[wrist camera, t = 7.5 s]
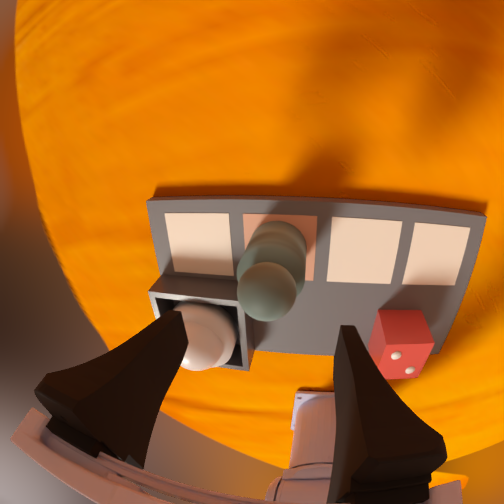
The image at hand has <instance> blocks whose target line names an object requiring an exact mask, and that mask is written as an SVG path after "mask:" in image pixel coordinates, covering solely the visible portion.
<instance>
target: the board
mask: <svg viewBox="0 0 504 504" xmlns="http://www.w3.org/2000/svg"><path fill="white" fill-rule="evenodd" d="M146 203H147V209H148V215H149V221H150V227H151V232H152V237H153V242H154V247H155V252H156V257H157V262H158V266H159V271H160V275H161V276H160V277H159V279H158V280H157V281H156V282H155V283H154V285H153V286H152V287H151V288H150V289H149V291H148V293H149V297H150V300H151V304H152V307H153V311H154V314H155V317H156V319H158V318H159V317H160V316H162V315H163V314H164V313H166V312H167V311H169V310H173V309H174V307H175V306H176V305H177V304H178V303H179V302H181V301H189V302H198V303H207V304H217V305H219V306H221V307H222V308H223V309H225V310H226V311H227V312H228V313H229V314H230V315H231V316H232V318H233V319H234V321H235V322H236V325H237V328H238V338H237V340H236V343H235V346H234V349H233V352H232V355H231V358H230V359H229V360H228V361H227V362H226V363H225V364H223V365H221V366H218V367H223V368H230V369H237V370H245V371H249V369H250V365H251V362H252V358H253V354H254V350H259V351H269V352H281V353H294V354H310V355H332V356H334V354H335V350H336V345H337V340H338V335H339V330H340V325H354V326H355V327H356V328H357V330H358V333H359V335H360V337H361V339H362V341H363V343H364V345H365V347H366V349H367V350H368V352H369V348H368V343H369V340H370V336H371V333H372V330H373V326H374V322H375V319H376V315H377V311H378V310H421V311H422V313H423V315H424V318H425V320H426V322H427V325H428V327H429V330H430V332H431V335H432V337H433V340H434V342H435V344H434V346H433V348H432V350H431V352H430V354H439V352H440V350H441V348H442V346H443V343H444V341H445V339H446V337H447V335H448V333H449V331H450V328H451V326H452V324H453V322H454V319H455V317H456V314H457V312H458V310H459V307H460V304H461V302H462V299H463V297H464V294H465V291H466V288H467V286H468V283H469V280H470V277H471V274H472V271H473V268H474V264H475V261H476V258H477V254H478V251H479V247H480V243H481V240H482V236H483V231H484V227H485V223H486V218H487V217H486V216H485V215H484V214H482V213H481V212H475V211H468V210H460V209H452V208H444V207H436V206H427V205H417V204H407V203H396V202H384V201H371V200H357V199H340V198H321V197H295V196H243V195H221V196H169V197H152V198H150V199H148V200H147V201H146ZM270 221H283V222H287V223H290V224H292V225H293V226H295V227H296V228H297V229H299V231H300V232H301V233H302V234H303V236H304V238H305V241H306V246H307V251H306V271H305V284H304V287H303V289H302V291H301V293H300V294H299V295H298V296H297V297H296V300H295V303H294V305H293V307H292V308H291V310H290V311H289V312H288V313H287V314H286V315H285V316H283V317H282V318H280V319H277V320H274V321H260V320H256V319H254V318H252V317H250V316H249V315H248V314H247V313H245V311H244V310H243V309H242V307H241V306H240V304H239V301H238V297H237V286H238V280H237V267H238V264H239V262H240V260H241V258H242V256H243V254H244V252H245V249H246V247H247V245H248V243H249V241H250V239H251V237H252V235H253V233H254V231H255V230H256V229H257V228H258V227H259V226H261V225H262V224H264V223H267V222H270Z"/></svg>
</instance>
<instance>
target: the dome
mask: <svg viewBox="0 0 504 504" xmlns="http://www.w3.org/2000/svg"><path fill="white" fill-rule="evenodd" d="M173 310H175V311H181V313H182V317H183V321H184V325H185V329H186V333H187V337H188V341H189V344H188V347H187V350H186V353H185V356H184V358H183V361H182V363H181V365H180V366H182V367H184V368H186V369H189V370H193V371H201V370H205V369H208V368H210V367H218V366H221V365H223V364H225V363H226V362H227V361H228V360H229V359H230V358H231V355H232V352H233V349H234V346H235V343H236V340H237V338H238V328H237V325H236V322H235V321H234V319H233V318H232V316H231V315H230V314H229V313H228V312H227V311H226V310H225V309H223V308H222V307H221V306H219V305H217V304H207V303H198V302H189V301H181V302H179V303H178V304H177V305H176V306H175V307H174V309H173Z"/></svg>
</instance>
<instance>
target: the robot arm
mask: <svg viewBox="0 0 504 504" xmlns="http://www.w3.org/2000/svg"><path fill="white" fill-rule="evenodd" d="M188 344H189V341H188V337H187V333H186V329H185V325H184V321H183V317H182V313H181V311H175V310H169V311H167V312H166V313H164V314H163V315H162V316H160V317H159V318H158V319H156V320H155V321H154V322H152V323H151V324H150V325H148V326H147V327H146V328H144V329H143V330H142V331H140V332H139V333H138V334H136V335H135V336H133V337H132V338H130V339H129V340H127V341H126V342H124V343H123V344H121V345H120V346H118V347H116V348H115V349H113V350H111V351H109V352H107V353H106V354H104V355H102V356H100V357H97V358H95V359H93V360H90V361H88V362H86V363H83V364H81V365H78V366H75V367H72V368H69V369H65V370H61V371H57V372H52V373H48V374H46V376H45V377H44V378H43V380H42V381H41V382H40V383H39V385H38V386H37V387H36V389H35V390H34V392H35V395H36V397H37V398H38V399H39V401H40V402H41V403H42V405H43V406H44V407H45V408H46V409H47V410H48V411H49V413H50V414H51V415H52V418H51V419H48V418H47V417H46V416H45V415H43V414H42V413H40V412H39V411H37V410H36V409H34V408H31V409H30V411H29V412H28V414H27V415H26V416H25V418H24V419H23V421H22V422H21V424H20V425H19V427H18V428H17V430H16V431H15V432H14V434H13V435H12V437H11V441H12V442H13V443H14V444H15V445H16V446H17V447H19V448H20V449H21V450H22V451H23V452H24V453H25V454H27V455H28V456H29V457H30V458H31V459H33V460H34V461H35V462H36V463H38V464H39V465H40V466H41V467H43V468H44V469H45V470H47V471H48V472H49V473H51V474H52V475H53V476H55V477H56V478H58V479H59V480H60V481H62V482H63V483H65V484H66V485H68V486H69V487H71V488H72V489H74V490H75V491H77V492H79V493H80V494H82V495H83V496H85V497H87V498H88V499H90V500H92V501H94V502H95V503H97V504H173V503H170V502H167V501H164V500H160V499H158V498H155V497H153V496H151V495H150V494H148V493H146V492H145V491H143V490H142V489H141V488H140V487H139V486H137V485H135V484H133V483H131V482H134V483H136V484H139V485H141V486H143V487H146V488H149V489H151V490H154V491H157V492H159V493H162V494H165V495H168V496H171V497H174V498H178V499H181V500H184V501H188V502H191V503H195V504H463V503H462V492H461V482H460V480H457V481H453V482H450V483H446V484H442V485H438V486H435V487H432V488H430V489H429V485H428V483H430V482H431V480H432V479H431V473H432V472H433V471H435V470H436V469H437V468H439V467H440V466H441V465H442V464H443V463H444V462H445V461H446V459H447V452H446V446H445V443H444V440H443V436H442V435H441V434H439V433H438V432H437V431H435V430H434V429H432V428H431V427H430V426H428V425H427V424H426V423H425V422H424V421H422V420H421V419H420V418H419V417H418V416H417V415H416V414H415V413H414V412H413V411H412V410H411V409H410V408H409V407H408V406H407V405H406V404H405V403H404V402H403V401H402V400H401V399H400V397H399V396H398V395H397V394H396V393H395V391H394V390H393V389H392V388H391V386H390V385H389V384H388V382H387V381H386V379H385V378H384V377H383V375H382V374H381V372H380V371H379V369H378V367H377V366H376V364H375V363H374V361H373V359H372V357H371V356H370V354H369V352H368V350H367V349H366V347H365V345H364V343H363V341H362V339H361V337H360V335H359V333H358V330H357V328H356V327H355V326H354V325H340V330H339V335H338V340H337V345H336V350H335V354H334V370H333V380H334V392H314V391H297V392H296V394H295V402H294V409H293V417H292V424H291V429H292V430H294V436H293V443H292V450H291V457H290V464H289V469H284V472H283V476H279V477H277V478H276V479H275V480H274V481H273V482H272V483H271V484H270V485H269V487H268V490H267V493H266V497H265V500H260V499H252V498H246V497H240V496H233V495H228V494H224V493H219V492H214V491H210V490H205V489H202V488H198V487H194V486H190V485H187V484H183V483H180V482H176V481H173V480H170V479H167V478H164V477H161V476H158V475H155V474H153V473H150V472H147V471H144V470H142V469H144V463H145V459H146V453H147V449H148V445H149V441H150V437H151V434H152V430H153V427H154V424H155V421H156V418H157V415H158V412H159V409H160V406H161V404H162V401H163V399H164V397H165V395H166V393H167V391H168V389H169V387H170V385H171V383H172V381H173V379H174V377H175V375H176V373H177V371H178V369H179V367H180V365H181V363H182V361H183V358H184V356H185V353H186V350H187V347H188ZM123 478H124V479H123ZM125 479H127V480H129V481H131V482H129V481H127V480H125Z"/></svg>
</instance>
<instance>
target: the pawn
mask: <svg viewBox="0 0 504 504" xmlns="http://www.w3.org/2000/svg"><path fill="white" fill-rule="evenodd" d="M306 251H307V246H306V241H305V238H304V236H303V234H302V233H301V232H300V231H299V229H297V228H296V227H295V226H293V225H292V224H290V223H287V222H283V221H270V222H267V223H264V224H262V225H261V226H259V227H258V228H257V229H256V230H255V231H254V233H253V235H252V237H251V239H250V241H249V243H248V245H247V247H246V249H245V252H244V254H243V256H242V258H241V260H240V262H239V264H238V267H237V280H238V286H237V297H238V301H239V304H240V306H241V307H242V309H243V310H244V311H245V313H247V314H248V315H249V316H250V317H252V318H254V319H256V320H260V321H274V320H277V319H280V318H282V317H283V316H285V315H286V314H287V313H288V312H289V311H290V310H291V308H292V307H293V305H294V303H295V300H296V297H297V296H298V295H299V294H300V293H301V291H302V289H303V287H304V284H305V271H306Z"/></svg>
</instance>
